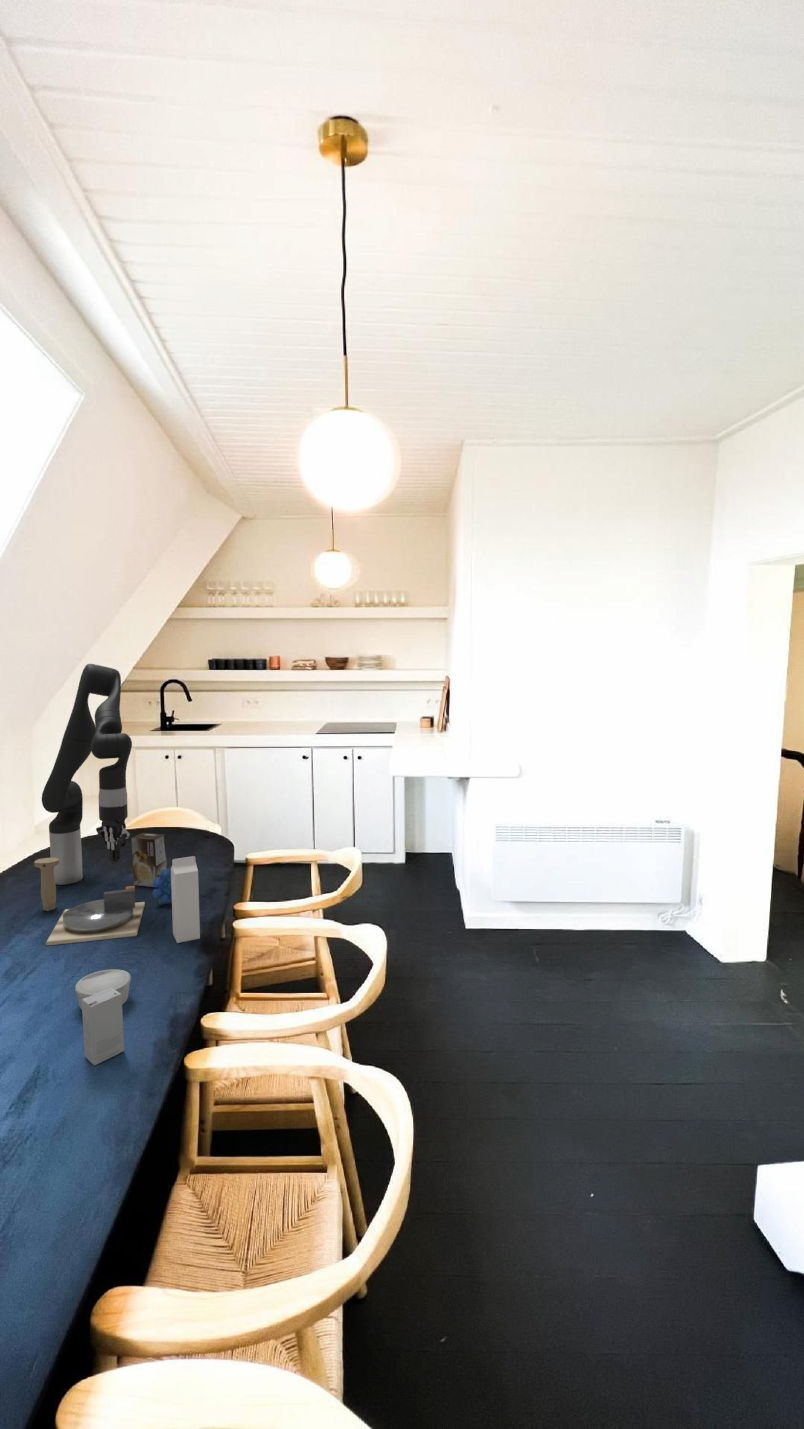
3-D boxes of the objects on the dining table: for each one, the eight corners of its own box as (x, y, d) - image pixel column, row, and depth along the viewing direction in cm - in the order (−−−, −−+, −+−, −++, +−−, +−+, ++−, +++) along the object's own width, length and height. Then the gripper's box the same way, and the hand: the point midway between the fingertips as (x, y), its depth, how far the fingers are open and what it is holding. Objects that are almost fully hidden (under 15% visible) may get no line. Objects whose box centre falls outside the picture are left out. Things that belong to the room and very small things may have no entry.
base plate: (65, 912, 193) (64, 908, 193) (144, 904, 199) (144, 901, 199) (46, 945, 172) (46, 941, 172) (136, 935, 178) (136, 931, 178)
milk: (200, 938, 176) (198, 859, 174) (176, 943, 173) (174, 862, 171) (195, 930, 182) (193, 852, 179) (172, 934, 179) (170, 856, 176)
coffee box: (168, 881, 219) (167, 834, 217) (157, 887, 213) (155, 839, 211) (144, 878, 221) (142, 832, 220) (132, 885, 215) (130, 837, 213)
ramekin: (116, 985, 152) (115, 963, 152) (141, 1001, 145) (140, 979, 145) (66, 1005, 144) (65, 982, 143) (91, 1024, 137) (89, 1000, 136)
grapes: (191, 895, 206) (190, 858, 205) (193, 903, 200) (192, 865, 199) (152, 901, 202) (150, 863, 201) (152, 909, 196) (151, 870, 194)
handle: (58, 911, 194) (55, 862, 192) (34, 913, 192) (32, 863, 191) (63, 905, 198) (61, 857, 197) (40, 906, 197) (37, 858, 195)
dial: (135, 902, 197) (134, 876, 196) (136, 926, 181) (135, 897, 180) (66, 912, 190) (64, 884, 189) (60, 937, 174) (58, 907, 173)
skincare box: (114, 1043, 130) (112, 985, 129) (125, 1052, 127) (123, 993, 126) (83, 1058, 125) (80, 997, 124) (93, 1067, 122) (91, 1006, 121)
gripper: (86, 802, 188) (88, 860, 190) (117, 808, 182) (118, 869, 184) (109, 797, 194) (110, 853, 196) (139, 803, 188) (141, 861, 190)
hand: (114, 861), depth 190 cm, fingers closed
